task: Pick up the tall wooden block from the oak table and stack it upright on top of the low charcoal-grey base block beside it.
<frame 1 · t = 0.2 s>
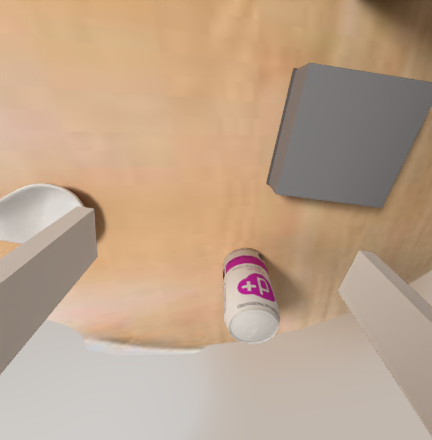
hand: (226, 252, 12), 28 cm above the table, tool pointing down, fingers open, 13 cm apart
charcoal base block: (330, 139, 35), on the table
supplement can: (243, 262, 46), on the table
spoon rest: (33, 210, 42), on the table
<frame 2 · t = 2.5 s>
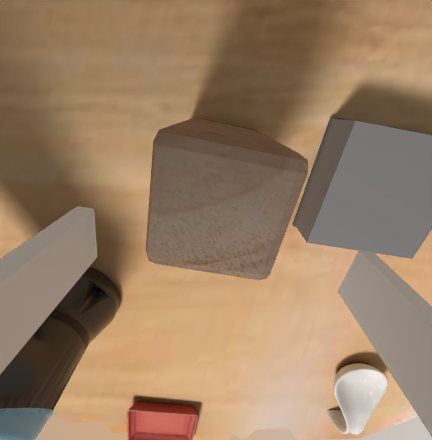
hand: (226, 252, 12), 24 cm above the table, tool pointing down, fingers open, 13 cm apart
charcoal base block: (361, 185, 35), on the table
plant saucer: (163, 415, 65), on the table
spoon rest: (345, 383, 58), on the table
wooden block: (218, 160, 34), on the table
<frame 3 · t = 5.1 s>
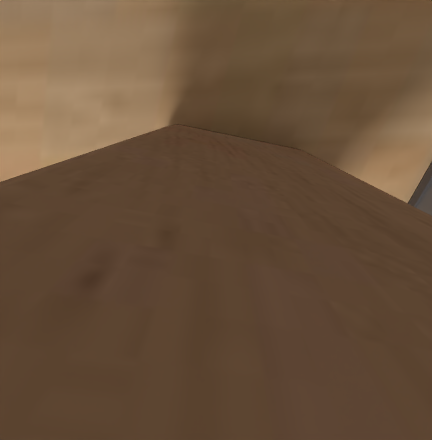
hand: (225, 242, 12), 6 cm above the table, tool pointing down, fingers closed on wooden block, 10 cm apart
wooden block: (223, 202, 18), on the table, touching gripper
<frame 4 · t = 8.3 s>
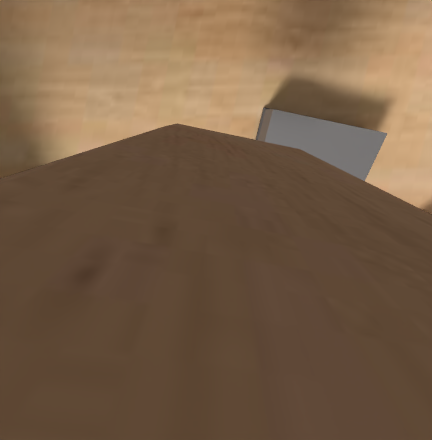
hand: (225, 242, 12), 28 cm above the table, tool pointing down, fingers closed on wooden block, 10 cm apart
charcoal base block: (296, 170, 39), on the table
wooden block: (223, 201, 18), point 22 cm above the table, touching gripper
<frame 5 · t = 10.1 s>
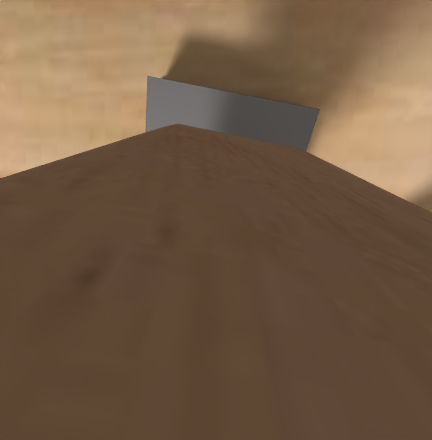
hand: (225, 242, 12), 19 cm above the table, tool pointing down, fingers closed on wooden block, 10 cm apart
charcoal base block: (219, 165, 30), on the table
wooden block: (223, 201, 18), point 13 cm above the table, touching gripper
when the fingers open (13 cm above the table, at t = 11.7 s): wooden block drops 1 cm, resting on charcoal base block.
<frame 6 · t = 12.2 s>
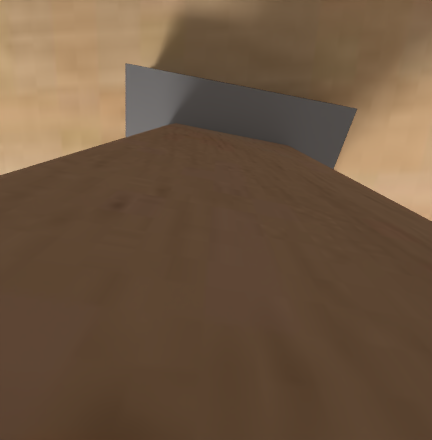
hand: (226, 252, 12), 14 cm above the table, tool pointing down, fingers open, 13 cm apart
charcoal base block: (222, 177, 24), on the table
wooden block: (219, 195, 19), point 6 cm above the table, touching charcoal base block
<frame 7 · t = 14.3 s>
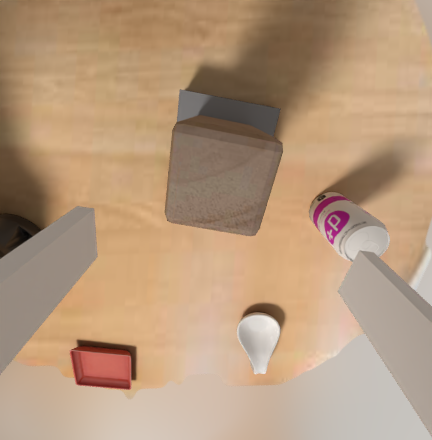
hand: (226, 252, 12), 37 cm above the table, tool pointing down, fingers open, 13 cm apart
charcoal base block: (221, 146, 45), on the table
supplement can: (326, 208, 50), on the table
plant saucer: (106, 360, 75), on the table
spoon rest: (257, 333, 68), on the table
wooden block: (219, 151, 39), point 6 cm above the table, touching charcoal base block
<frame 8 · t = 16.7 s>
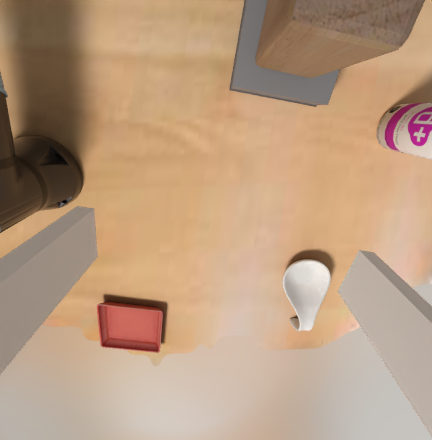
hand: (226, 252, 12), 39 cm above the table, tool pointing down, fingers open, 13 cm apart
charcoal base block: (285, 44, 39), on the table
supplement can: (395, 127, 45), on the table
plant saucer: (134, 320, 70), on the table
spoon rest: (300, 288, 63), on the table
wooden block: (293, 34, 34), point 6 cm above the table, touching charcoal base block
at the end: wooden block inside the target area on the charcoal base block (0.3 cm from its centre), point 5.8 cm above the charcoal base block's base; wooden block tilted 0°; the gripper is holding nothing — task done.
